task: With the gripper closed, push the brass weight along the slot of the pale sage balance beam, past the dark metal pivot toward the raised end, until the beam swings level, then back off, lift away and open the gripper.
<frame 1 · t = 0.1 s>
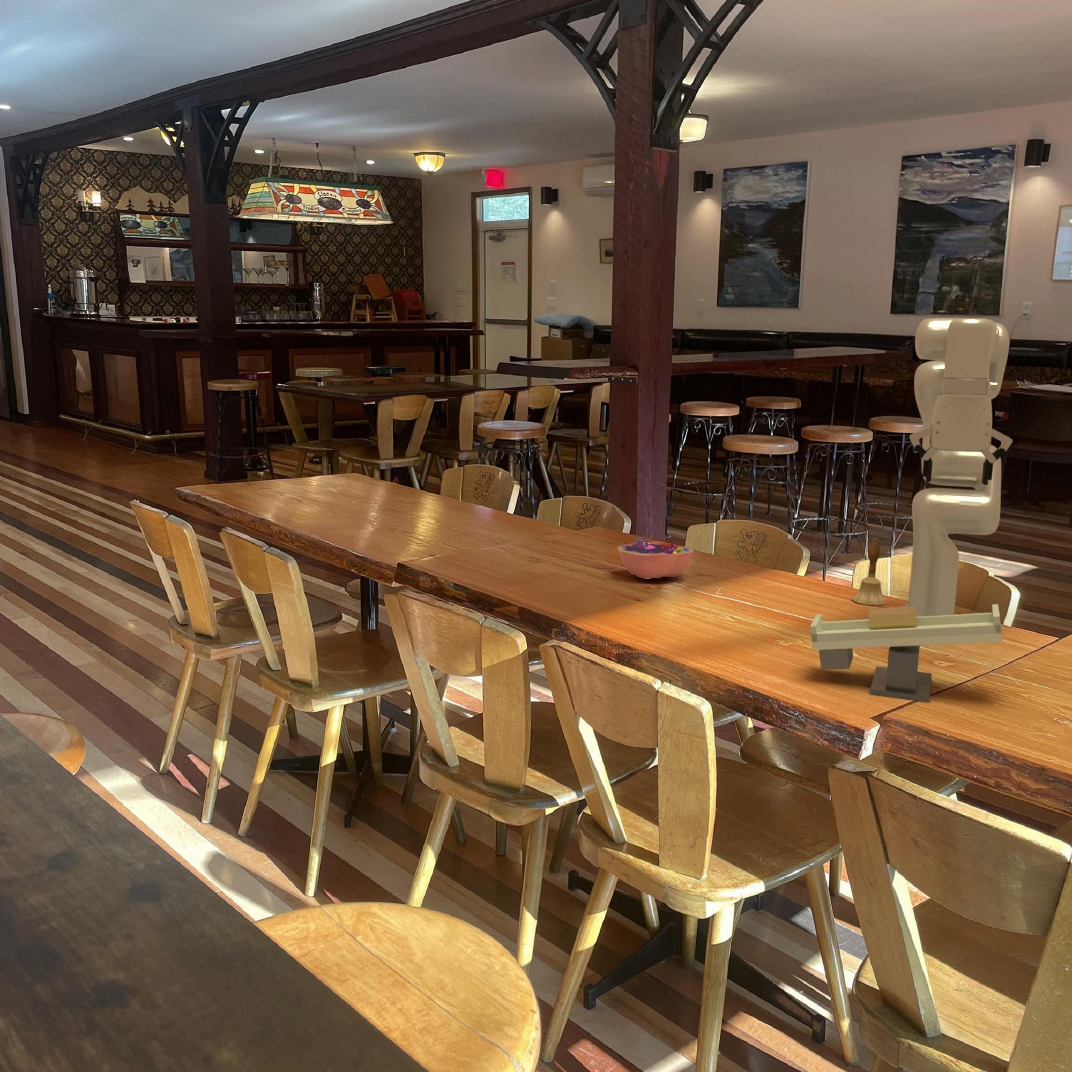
hand: (956, 482, 184), 37 cm above the table, tool pointing down, fingers open, 9 cm apart
balance beam: (905, 638, 184), point 9 cm above the table, hinge at -10.2°, touching brass weight
cell model: (654, 579, 267), on the table
pivot stand: (901, 686, 186), on the table
hand bell: (869, 602, 246), on the table
brass weight: (894, 631, 184), point 10 cm above the table, tilted 10°, touching balance beam
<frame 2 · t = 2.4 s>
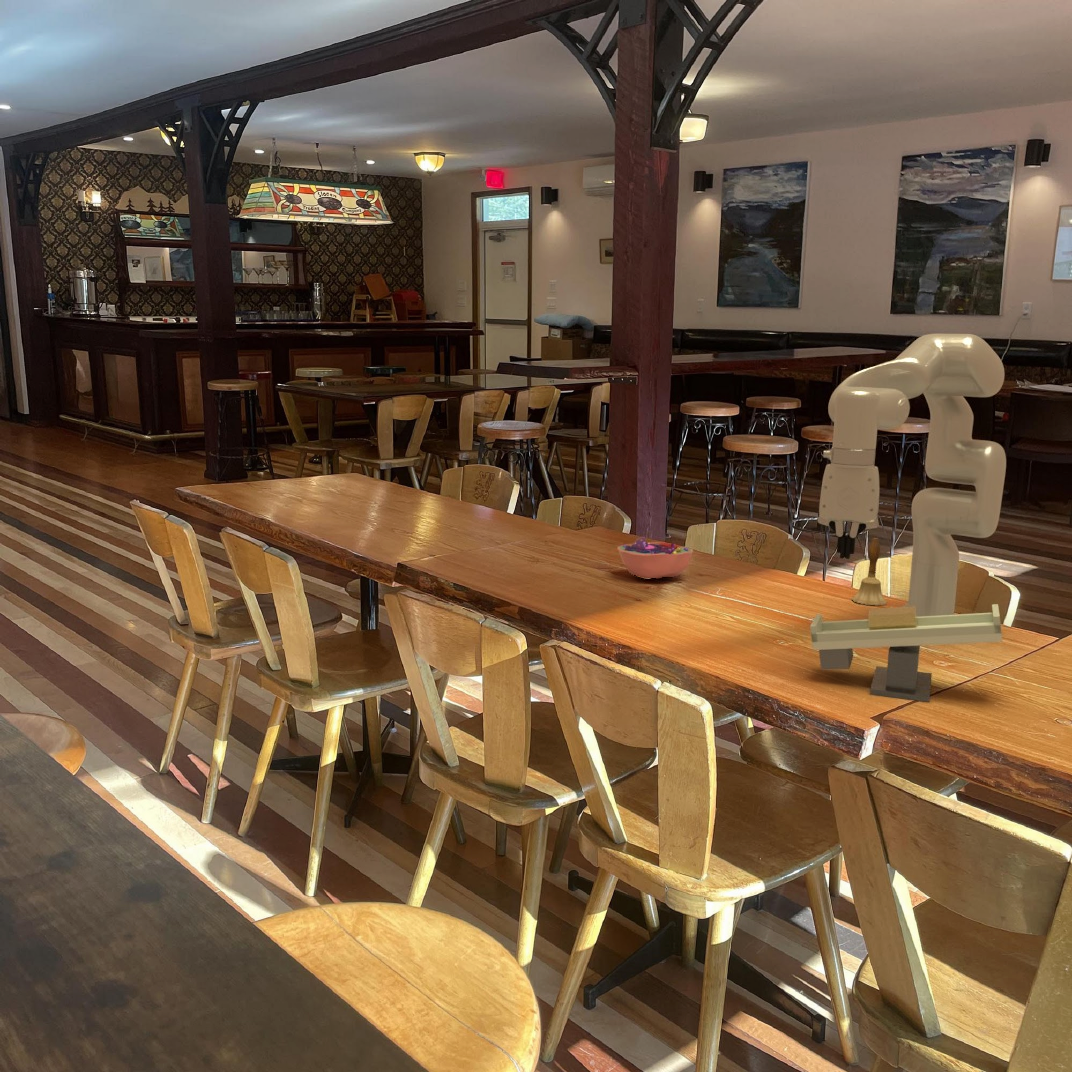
hand: (845, 557, 185), 23 cm above the table, tool pointing down, fingers closed
nothing on the table moved.
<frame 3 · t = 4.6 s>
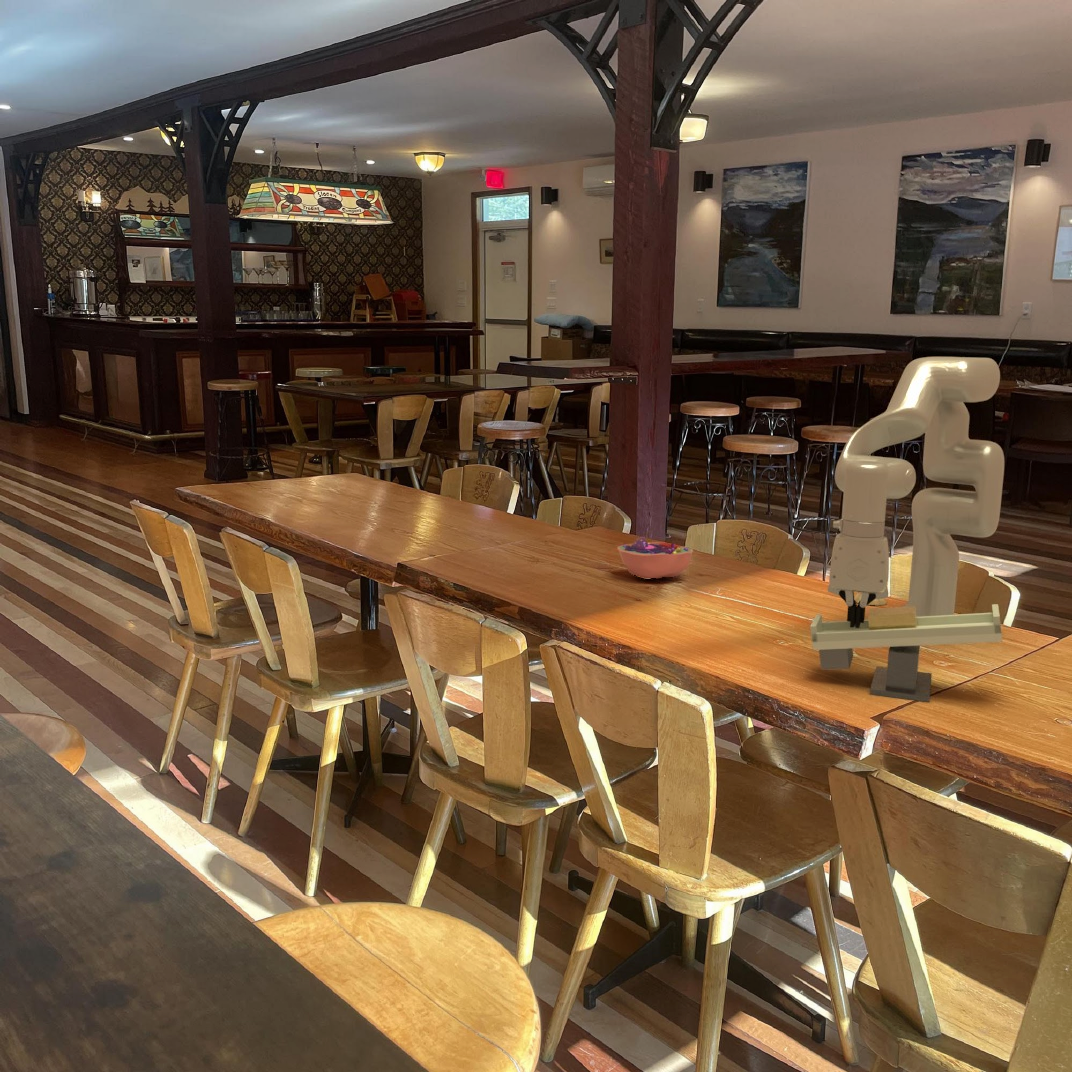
hand: (855, 625, 187), 10 cm above the table, tool pointing down, fingers closed
brass weight: (893, 631, 184), point 10 cm above the table, tilted 10°, touching balance beam, gripper
everything else where it was.
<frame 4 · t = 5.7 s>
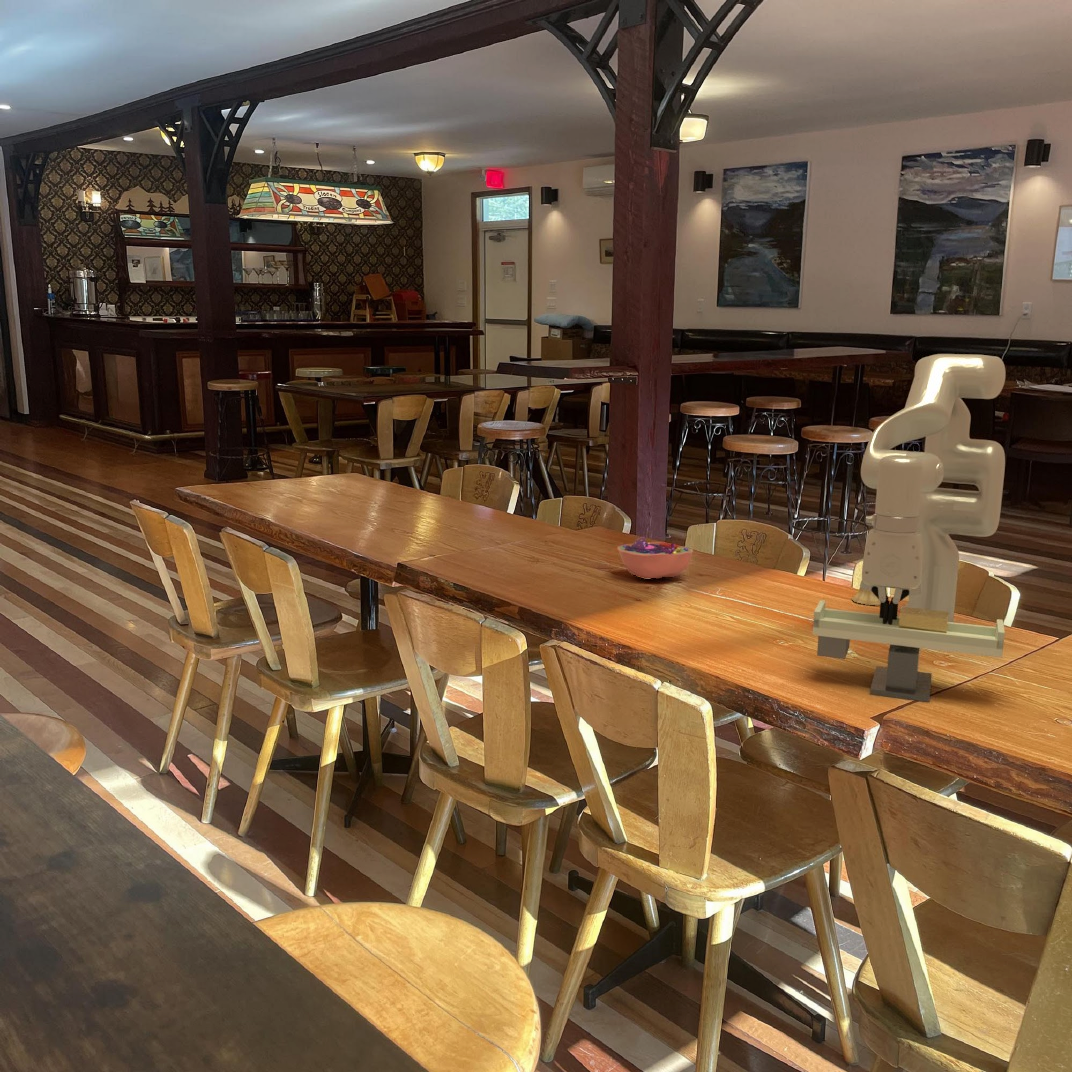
hand: (887, 622, 184), 12 cm above the table, tool pointing down, fingers closed
balance beam: (905, 638, 184), point 9 cm above the table, hinge at 0.2°
brass weight: (922, 633, 182), point 11 cm above the table, touching gripper
everything else where it was.
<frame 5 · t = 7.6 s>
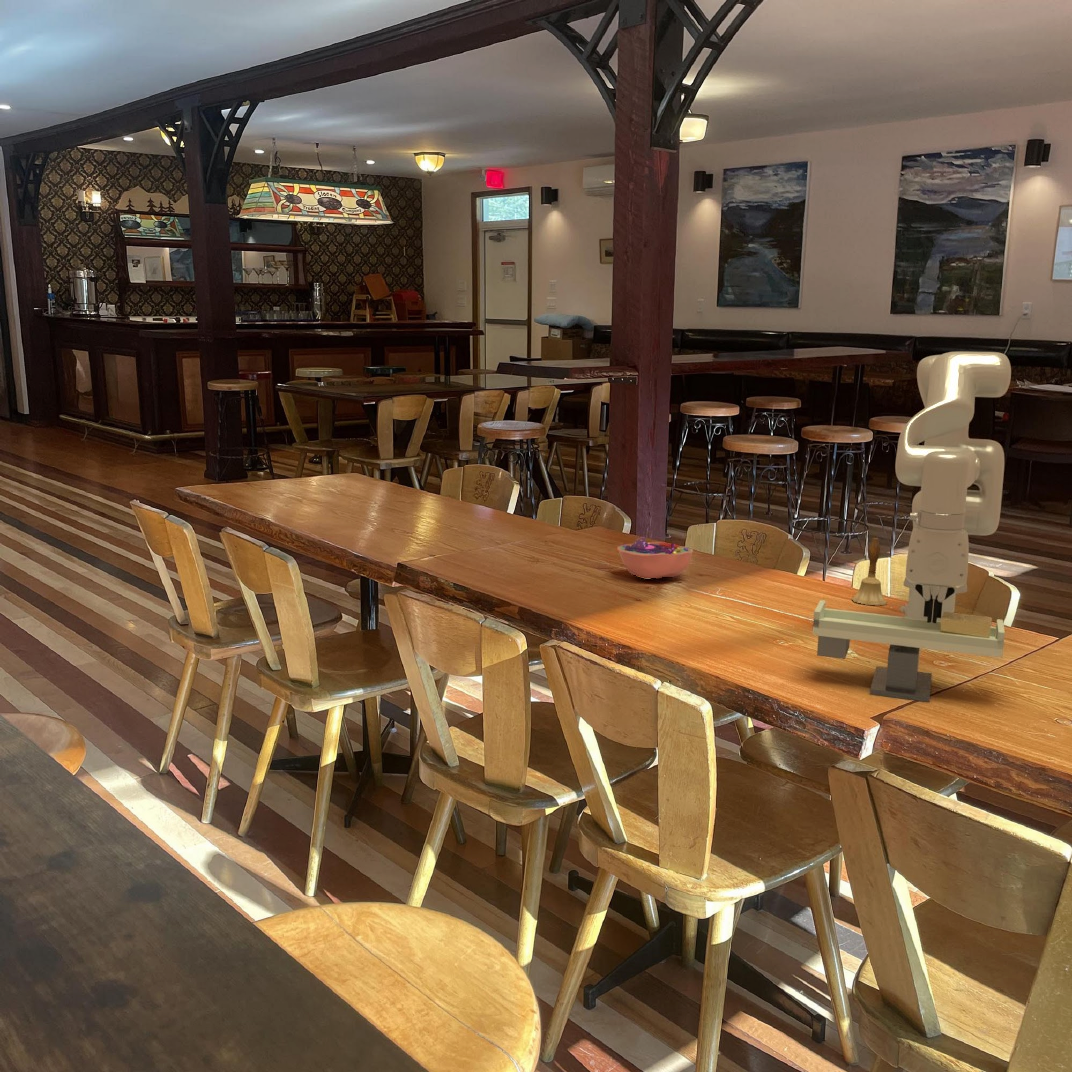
hand: (931, 621, 182), 13 cm above the table, tool pointing down, fingers closed
balance beam: (905, 638, 184), point 9 cm above the table, hinge at 0.2°, touching brass weight
brass weight: (964, 639, 179), point 10 cm above the table, touching balance beam, gripper
everything else where it was.
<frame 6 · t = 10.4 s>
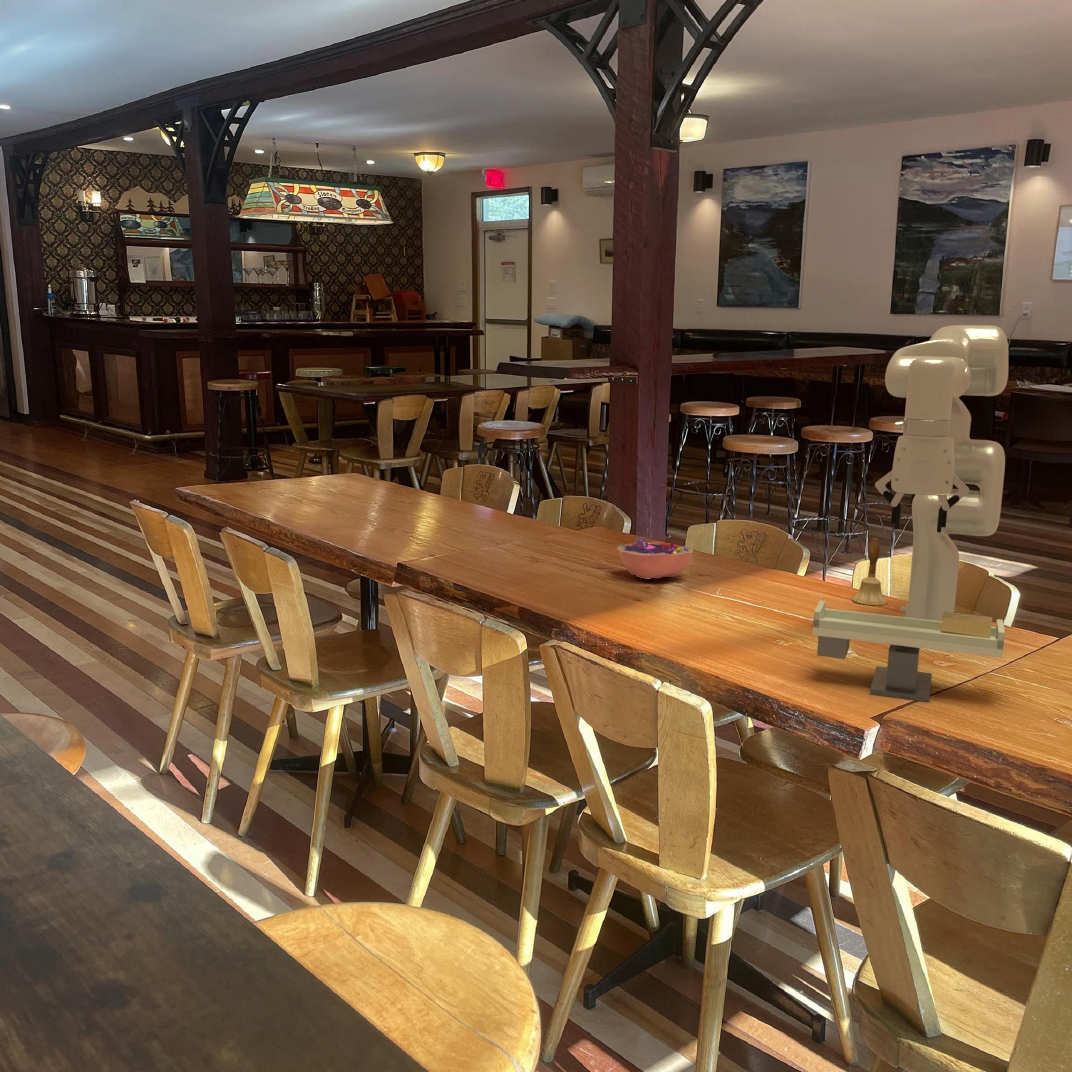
hand: (917, 528, 180), 30 cm above the table, tool pointing down, fingers open, 6 cm apart
brass weight: (965, 639, 179), point 10 cm above the table, touching balance beam
everything else where it was.
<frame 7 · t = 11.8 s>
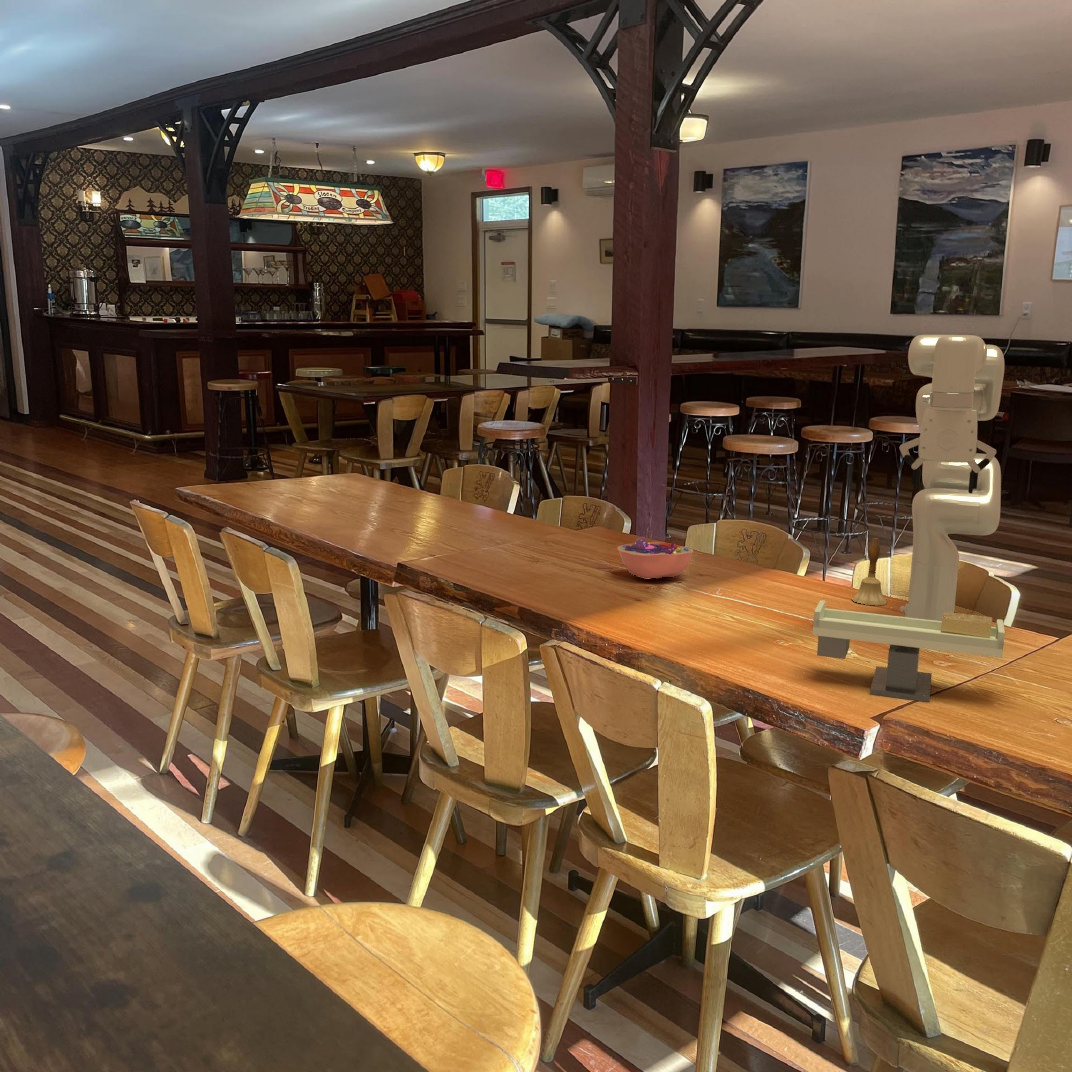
hand: (943, 490, 194), 34 cm above the table, tool pointing down, fingers open, 9 cm apart
nothing on the table moved.
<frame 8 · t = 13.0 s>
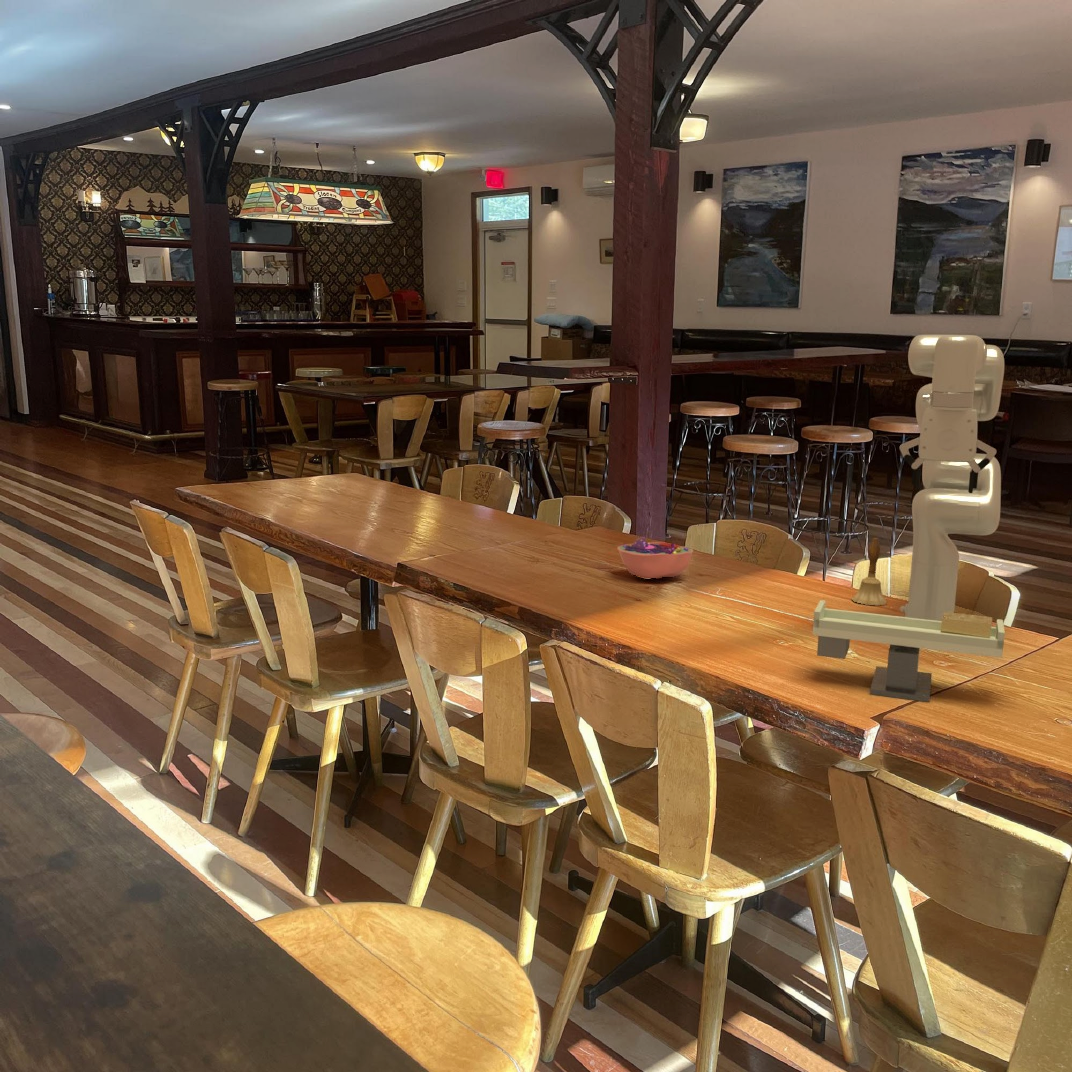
hand: (943, 490, 195), 34 cm above the table, tool pointing down, fingers open, 9 cm apart
nothing on the table moved.
at the end: balance beam at +0° (first picture: -10°); brass weight inside the target area on the balance beam (0.4 cm from its centre), point 1.5 cm above the balance beam's base; the gripper is holding nothing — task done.
